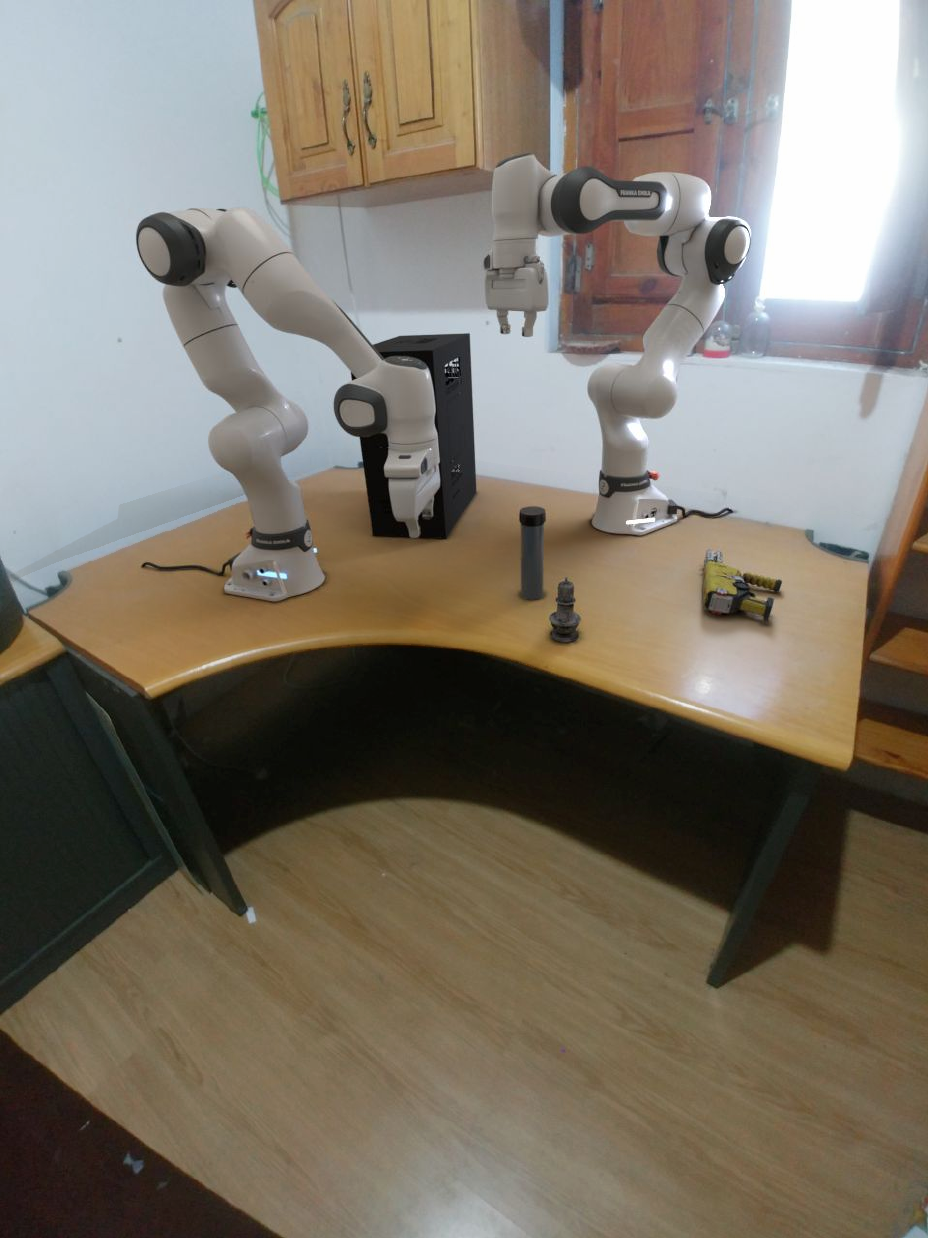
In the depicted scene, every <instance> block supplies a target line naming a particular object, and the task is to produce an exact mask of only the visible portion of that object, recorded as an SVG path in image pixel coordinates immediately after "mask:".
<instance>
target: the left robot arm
mask: <svg viewBox="0 0 928 1238" xmlns="http://www.w3.org/2000/svg"><path fill="white" fill-rule="evenodd" d="M138 223H139V224H138V225H137V227H136V232H135V243H136V250H137V253H138V257H139V259H140V261H141V263H142V265H143V266H144V268H145V269H146V271H147V272H148V273H149V275H150V276H151V277H152V278H153V279H155V280H156V281H157V282H158V283H161V284H163V285H164V286H163V288H162V298H163V302H164V305H165V308H166V312H167V314H168V317H169V319H170V322H171V324H172V327H173V329H174V331H175V333H176V335H177V338H178V339H179V341H180V343H181V345H182V347H183V349H184V351H185V353H186V355H187V357H188V359H189V361H190V363H191V364H192V366H193V368H194V370H195V372H196V373H197V375H198V377H199V379H200V381H201V383H202V385H203V386H204V388H206V389H207V390H208V391H209V392H211V393H212V394H215V395H217V396H218V397H220V398H221V399H223V400H224V401H225V402H226V403H227V404H228V405H229V406H230V407H231V409H233V410H234V412H233V413H231V414H228V415H226V416H225V417H224V418H222V419H221V420H220V421H219V422H217V423H216V424H215V425H214V426H213V427H212V428H211V429H210V431H209V434H208V436H207V437H208V438H207V439H208V440H207V444H208V449H209V452H210V454H211V456H212V459H213V460H214V461H215V463H217V465H218V466H220V467H221V468H222V469H223V470H225V471H227V472H229V473H230V474H232V475H233V476H234V477H235V479H236V480H237V482H238V483H239V485H240V486H241V489H242V490H243V492H244V494H245V497H246V499H247V503H248V506H249V510H250V514H251V517H252V522H253V526H252V527H251V528H249V531H247V532H246V533H245V534H244V536H246V537H245V540H248V539H249V538H251V540H250V543H249V544H248V545H247V546H246V547H245V548H244V549H243V550H242V551H240V552H239V553H237V554H235V555H233V556H232V557H230V558H229V559H227V561H226V562H224V563H223V564H222V566H221V571H220V572H219V571H218V572H216V571H215V570H212V569H210V568H208V567H206V566H203V565H197V564H185V565H173V566H171V565H170V566H162V565H161V566H160V565H158V564H155V563H153V562H149V561H145V562H143V563H142V564H141V566H140V568H145V567H146V566H150V567H152V568H155V569H158V570H164V571H167V570H168V571H169V570H184V569H200V570H202V571H205V572H208V573H210V574H212V575H216V576H222V575H224V574H225V573H226V568H227V567H228V566H229V569H230V572H231V577H230V578H228V580H227V581H226V582H225V584H224V587H223V588H224V593H225V594H229V595H234V596H240V597H244V598H249V599H257V600H262V601H268V602H274V603H275V602H280V601H283V600H286V599H288V598H290V597H294V596H300V595H303V594H306V593H309V592H311V591H313V590H315V589H317V588H319V587H320V586H321V585H322V584H323V583H324V582H325V579H326V575H325V574H324V572H323V570H322V568H321V566H320V564H319V562H318V561H319V560H318V559H317V556H316V553H318V549H317V547H314V546H313V545H314V544H313V543H314V541H313V535H312V530H311V526H310V521H309V519H307V514H306V509H305V506H304V505H305V503H304V500H303V496H302V490H301V487H300V485H299V484H298V483H297V482H296V481H294V480H293V479H290V478H289V476H288V474H287V473H286V471H285V469H284V467H283V464H282V457H284V456H286V455H288V454H290V453H292V452H294V451H296V449H297V448H298V447H299V446H300V445H301V444H302V443H303V442H304V441H305V439H306V438H307V436H308V433H309V420H308V417H307V414H305V412H304V410H303V409H302V408H301V407H300V405H298V404H297V403H296V402H294V401H291V399H288V398H287V397H286V396H285V395H284V394H283V393H282V392H280V390H279V389H278V388H277V387H276V386H275V385H274V383H273V382H272V381H271V380H270V379H269V377H268V376H267V375H266V374H265V372H264V371H263V369H262V368H261V366H260V365H259V363H258V361H257V360H256V358H255V356H254V354H253V352H252V350H251V348H250V346H249V344H248V343H247V340H246V338H245V337H244V334H243V332H242V331H241V328H240V327H239V324H238V322H237V320H236V318H235V317H234V315H233V313H232V311H231V309H230V307H229V304H228V302H227V299H226V298H227V297H226V291H227V287H228V288H232V289H236V288H237V289H238V290H239V292H240V293H241V295H242V296H243V298H244V299H245V300H246V302H247V303H248V304H249V306H250V307H251V308H252V309H253V311H254V312H255V313H256V314H257V315H258V316H259V317H260V318H261V319H262V320H263V321H264V322H266V324H267V325H269V326H270V327H271V328H273V329H274V330H277V331H278V332H282V333H286V334H290V335H297V336H300V337H305V338H309V339H311V340H314V341H316V342H318V343H321V344H323V345H324V346H326V347H328V348H329V350H331V351H332V352H333V353H334V354H335V355H336V356H337V357H338V359H339V360H340V361H341V362H342V363H343V364H344V365H345V367H346V368H347V369H348V371H349V372H350V373H351V372H352V373H353V375H354V376H355V377H356V378H357V379H355V380H352V379H351V380H350V381H347V382H346V383H344V384H343V385H341V386H340V387H339V388H338V389H337V391H336V392H335V394H334V398H333V413H334V416H335V419H336V421H337V423H338V425H339V427H341V428H342V430H343V431H344V432H346V433H347V434H348V435H350V436H352V437H356V438H360V437H367V436H371V435H375V434H379V433H384V434H386V435H387V437H388V443H389V450H388V458H387V460H386V463H385V465H384V474H385V477H388V478H390V479H389V493H390V499H391V505H392V510H393V514H394V517H395V519H396V520H397V521H401V522H405V523H406V525H407V527H408V529H409V536H410V537H409V538H411V539H418V538H420V537H419V535H420V534H421V532H420V526H418V521H417V520H418V516H419V514H420V513H421V512H422V514H423V519H431V518H432V517H433V502H434V494H435V493H436V492H437V490H438V489H439V487H440V474H439V466H438V464H439V462H440V458H439V446H438V434H437V431H436V428H435V424H434V418H435V412H436V409H435V398H434V390H433V384H432V379H431V375H430V371H429V369H428V367H427V365H426V364H425V363H424V362H422V361H421V360H419V359H417V358H413V357H408V356H391V357H388V358H385V359H384V358H383V357H382V356H381V354H380V353H379V352H378V351H377V350H376V349H375V347H374V346H373V344H372V342H371V341H370V340H369V339H368V337H366V335H365V334H364V333H363V332H362V331H361V329H360V328H359V327H358V326H357V325H356V324H355V322H354V321H353V320H352V319H351V318H350V316H349V315H348V314H347V313H346V312H345V311H344V310H343V309H342V308H341V307H340V305H338V304H337V303H336V302H335V301H334V300H333V299H332V298H331V297H330V296H329V295H328V294H327V293H326V292H325V291H324V290H323V289H322V288H321V286H320V285H319V284H318V283H317V282H316V281H315V280H314V278H313V277H312V276H311V275H310V273H308V271H307V270H306V269H305V267H304V266H303V265H302V263H301V262H300V261H299V259H298V258H297V257H296V256H295V254H294V253H293V251H292V250H291V248H289V246H288V245H287V243H286V242H285V241H284V240H283V239H282V238H281V236H280V235H279V234H278V233H277V232H276V230H275V229H273V227H272V226H271V225H270V224H269V223H267V221H266V220H265V219H264V218H262V216H261V215H260V214H258V213H257V212H256V211H254V210H253V209H251V208H249V207H246V206H233V207H231V208H229V209H226V208H217V209H214V208H213V209H212V208H204V207H203V208H201V207H197V208H196V207H195V208H194V207H193V208H192V207H191V208H187V209H184V210H183V209H182V210H173V211H169V212H165V211H160V212H156V213H152V214H150V215H148V216H145V217H144V218H143V219H142V220H141V221H140V222H138Z"/></svg>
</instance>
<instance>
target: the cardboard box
mask: <svg viewBox="0 0 928 1238" xmlns="http://www.w3.org/2000/svg"><path fill="white" fill-rule="evenodd" d="M372 345H373V346H374V347H375V349H376V350H377V351H378V352H379V353H380V354H381V356H382V357H383V358H384V359H385V358H388V357H391V356H408V357H413V358H417V359H419V360H421V361H422V362H424V363H425V364H426V365H427V367H428V369H429V371H430V375H431V379H432V384H433V390H434V398H435V409H436V412H435V418H434V424H435V428H436V431H437V434H438V446H439V458H440V462H439V464H438V466H439V474H440V487H439V489H438V490H437V492H436V493H435V494H434V502H433V517H432V518H431V519H423V514H422V512H421V513H420V514H419V516H418V520H417V521H418V526H420V532H421V534H420V535H419V537H418V538H423V539H424V538H425V539H443V540H444V539H445V540H446V539H447V538H448V537H449V535H450V533H451V532H452V530H453V529H454V528H455V526H456V524H457V523H458V521H459V520H460V518H461V517H462V515H463V514H464V512H465V511H466V509H467V507H468V506H469V505H470V503H471V502H472V500H473V498H474V497H475V495H476V494H477V471H476V470H477V469H476V448H475V446H476V445H475V426H474V424H475V423H474V422H475V421H474V401H473V377H472V355H471V352H472V351H471V334H470V333H469V332H467V333H440V334H439V333H437V334H413V335H412V334H410V335H398V336H395V337H392V338H389V339H385V340H383V341H380V342H377V343H373V344H372ZM450 364H451V365H450ZM350 377H351V378H350V379H351V381H352V380H355V379H357V378H356V377H355V376H354V375H353V373H352V372H351V371H350ZM359 442H360V450H361V451H360V452H361V458H362V465H363V473H364V482H365V487H366V495H367V502H368V509H369V518H370V524H371V525H370V526H371V532H372V536H377V537H378V536H379V537H398V538H399V537H400V538H411V537H410V536H409V529H408V527H407V525H406V523H405V522H401V521H397V520H396V519H395V517H394V514H393V510H392V505H391V499H390V493H389V479H390V478H388V477H385V474H384V465H385V463H386V460H387V458H388V450H389V443H388V437H387V435H386V434H384V433H379V434H375V435H371V436H367V437H359Z"/></svg>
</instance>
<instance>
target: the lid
mask: <svg viewBox="0 0 928 1238" xmlns="http://www.w3.org/2000/svg"><path fill="white" fill-rule="evenodd" d="M546 515H547V513H546V509H545V508H544V507H542V506H537V505H533V506H531V505H530V506H525V507H521V508H520V509H519V514H518V518H519V519H518V522H519V523H520V525H521V524H523V525H526V526H538V525H542V524H544V525H545V523H546V521H547V519H546V518H547V517H546Z"/></svg>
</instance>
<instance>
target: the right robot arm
mask: <svg viewBox="0 0 928 1238" xmlns="http://www.w3.org/2000/svg"><path fill="white" fill-rule="evenodd" d="M711 200H712V194H711V189H710V186H709V185H708V183H707V182H706V181H705V180H704V179H703V178H701V177H698V176H695V175H692V174H689V173H682V172H675V171H673V172H672V171H660V172H659V171H658V172H651V173H646V174H641V175H640V176H637V177H635V178H633V179H632V180H624V179H623V180H621V179H613V178H610V177H609V176H607V175H606V174H604V173H603V172H601V171H600V170H599V169H596V168H594V167H592V166H585V165H584V166H579V167H577V168H575V169H573V170H569V171H568V172H566V173H565V172H564V173H562V174H559V175H558V174H556V173H554V172H552V171H551V170H549V169H547V168H546V167H545V166H543V165H542V163H540V161H539V160H538V159H537V157H536V156H535V153H531V152H525V153H520V154H517V155H513V156H509V157H507V158H504V159H501V160H500V161H499V162H497V164H496V165H495V167H494V170H493V174H492V183H491V216H492V220H493V227H494V228H493V235H492V248H491V249H490V250H489V252H488V253H487V254H486V255H485V256H484V257H483V258H482V269H483V271H485V273H484V297H485V304H486V306H487V307H486V308H487V309H488V310H492V311H496V318H497V321H498V323H499V324H498V325H499V333H500V335H510V334H511V324H509V318H508V316H509V312H523V318H524V323H523V326H522V327H521V336H522V337H523V338H531V337H533V335H534V326H535V324H536V320H537V318H538V316H537V315H538V314H537V313H540V312H546V311H547V310H548V308H549V307H548V306H549V303H550V297H549V296H550V295H549V279H548V278H549V277H548V273H547V269H546V268H545V263H544V262H543V260H542V258H541V256H539V236H542V237H546V238H547V237H549V238H550V237H557V236H558V237H560V236H566V235H567V236H568V235H585V234H586V235H587V234H589V233H592V232H594V231H595V230H597V229H598V228H600V227H602V226H603V225H605V224H606V223H608V222H623V224H624V226H625V227H626V230H628V232H629V233H631V234H634V235H639V236H645V237H658V242H657V248H656V259H657V264H658V267H659V269H660V270H661V271H662V272H663V273H664V274H666V275H669V276H672V277H682V279H681V283H680V285H679V287H678V289H677V291H676V292H675V294H674V295H673V296H672V297H671V298H670V300H669V301H668V302H667V303H666V305H665V306H664V307H663V308H662V310H661V311H660V313H659V314H658V315H657V316H656V318H655V319H654V320H653V322H652V323H651V324H650V326H649V327H647V330H646V331H645V332H644V335H643V337H642V345H643V350H644V351H643V353H642V356H641V358H640V359H639V360H638V361H637V363H635V364H625V363H619V362H615V363H614V362H613V363H607V364H604V365H601V366H597V368H595V369H594V371H593V372H591V374H590V376H589V378H588V380H587V395H588V398H589V399H590V401H591V402H592V404H593V406H594V408H595V411H596V414H597V417H598V418H597V419H598V421H599V427H600V432H601V440H602V447H601V448H602V449H601V450H602V451H601V468H600V470H599V474H598V492H599V493H598V498H597V502H596V507H595V511H594V514H593V517H592V520H591V525H592V526H593V527H594V528H595V529H597V530H599V531H601V532H605V533H611V534H623V535H625V534H626V535H632V536H633V535H634V536H645V535H646V534H650V533H652V532H654V531H657V530H660V529H662V528H665V527H668V526H670V525H672V524H675V523H677V522H678V516H677V514H678V510H680V511H681V516H682V517H683V518H687V517H688V516H689V515H690V514H698V515H701V516H704V517H709V518H713V517H714V518H716V517H719V516H721V515H722V514H724V513H725V512H728V513H731V514H733V513H734V510H733V509H732V508H730V507H724V508H722V509H721V510H719V511H717V512H714V513H709V512H705V511H703V510H698V509H690V510H687V512H686V508H685V507H684V506H682V505H678V504H677V503H676V502H675V500H673V499H671V498H670V499H669V498H668V497H667V496H666V495H665V494H664V493H663V492H661V491H660V490H659V489H658V488H656V487H655V486H654V485H652V483H651V480H653V481H658V479H659V478H660V473H659V472H657V471H654V470H651V471H649V470H648V469H647V466H648V458H649V457H648V455H649V446H650V441H649V437H648V435H647V434H646V432H645V431H644V429H643V427H642V424H641V420H656V419H662V418H664V417H666V416H667V415H669V413H670V412H671V411H672V410H673V408H674V406H675V405H676V402H677V399H678V395H679V389H678V388H679V387H678V383H677V377H678V373H679V371H680V368H681V366H682V365H683V363H684V361H685V359H686V358H687V357H688V355H689V354H690V353H691V352H692V350H693V348H694V347H695V346H696V345H697V343H698V342H699V340H701V338H702V337H703V336H704V335H705V333H706V331H707V330H708V328H709V327H710V325H711V324H712V322H713V321H714V319H715V318H716V316H717V315H718V313H719V311H720V309H721V307H722V305H723V303H724V300H725V288H724V285H725V284H727V283H729V282H730V281H732V280H733V279H734V278H735V275H736V274H737V271H738V270H739V269H740V268H741V267H742V265H743V263H744V262H745V260H746V258H747V256H748V254H749V252H750V249H751V243H752V231H751V228H750V225H749V224H748V223H747V222H746V221H745V220H743V219H741V218H738V217H736V216H724V217H710V215H709V210H710V207H711ZM729 508H730V509H729Z"/></svg>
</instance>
